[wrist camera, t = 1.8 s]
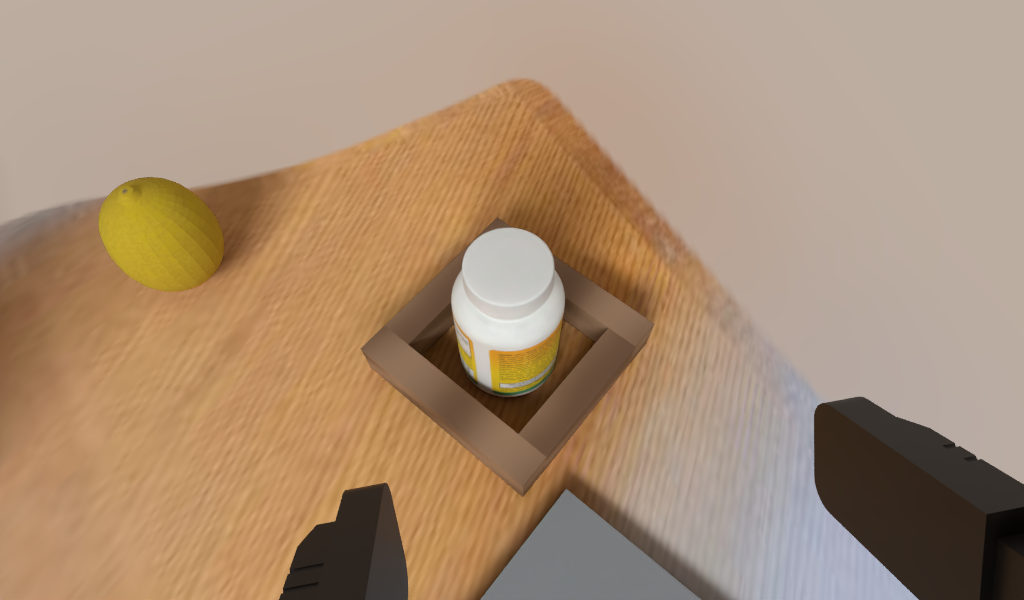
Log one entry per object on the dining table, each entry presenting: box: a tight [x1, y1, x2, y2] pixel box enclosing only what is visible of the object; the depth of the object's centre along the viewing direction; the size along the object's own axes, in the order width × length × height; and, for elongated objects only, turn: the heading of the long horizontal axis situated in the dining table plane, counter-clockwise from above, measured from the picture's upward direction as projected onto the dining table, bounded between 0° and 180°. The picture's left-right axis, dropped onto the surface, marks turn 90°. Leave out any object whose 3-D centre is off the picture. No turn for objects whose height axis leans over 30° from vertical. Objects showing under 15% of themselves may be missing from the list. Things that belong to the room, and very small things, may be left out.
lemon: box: [99, 177, 224, 292], centre depth 34 cm, size 6×6×8 cm
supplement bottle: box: [451, 228, 565, 397], centre depth 30 cm, size 5×5×10 cm
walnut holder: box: [361, 217, 654, 497], centre depth 33 cm, size 11×11×2 cm
